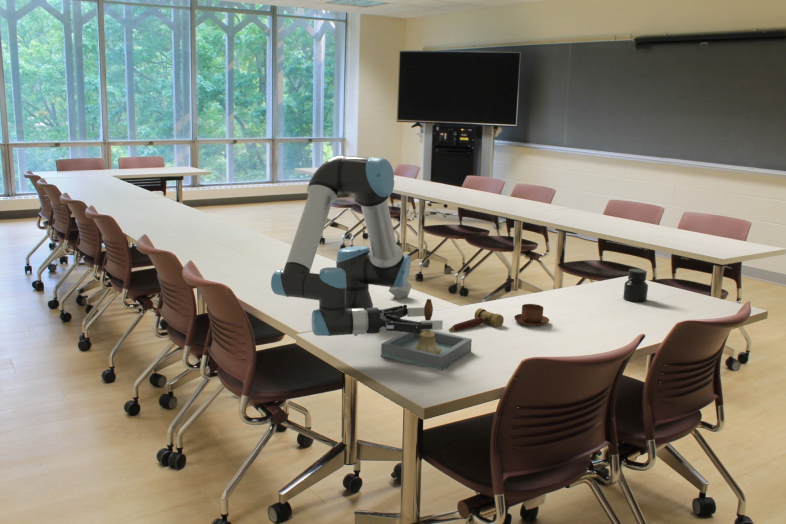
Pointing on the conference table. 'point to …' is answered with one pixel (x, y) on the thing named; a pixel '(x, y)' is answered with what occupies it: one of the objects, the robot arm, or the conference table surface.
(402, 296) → the grey polyhedron block
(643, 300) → the ink bottle
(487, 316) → the gavel
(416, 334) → the box
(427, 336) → the hand bell
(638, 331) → the conference table surface
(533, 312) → the cup and saucer
